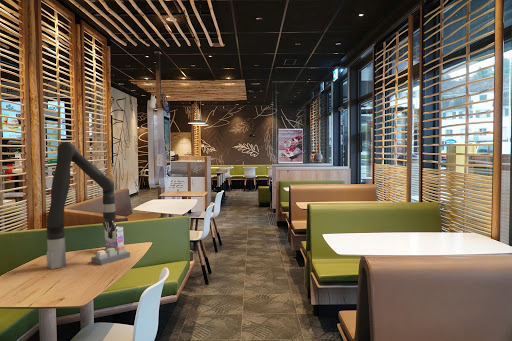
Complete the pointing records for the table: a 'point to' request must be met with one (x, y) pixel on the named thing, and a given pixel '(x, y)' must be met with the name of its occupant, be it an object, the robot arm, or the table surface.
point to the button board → (110, 257)
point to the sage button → (111, 250)
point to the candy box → (114, 238)
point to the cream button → (101, 252)
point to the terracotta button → (120, 248)
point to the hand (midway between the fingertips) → (110, 237)
